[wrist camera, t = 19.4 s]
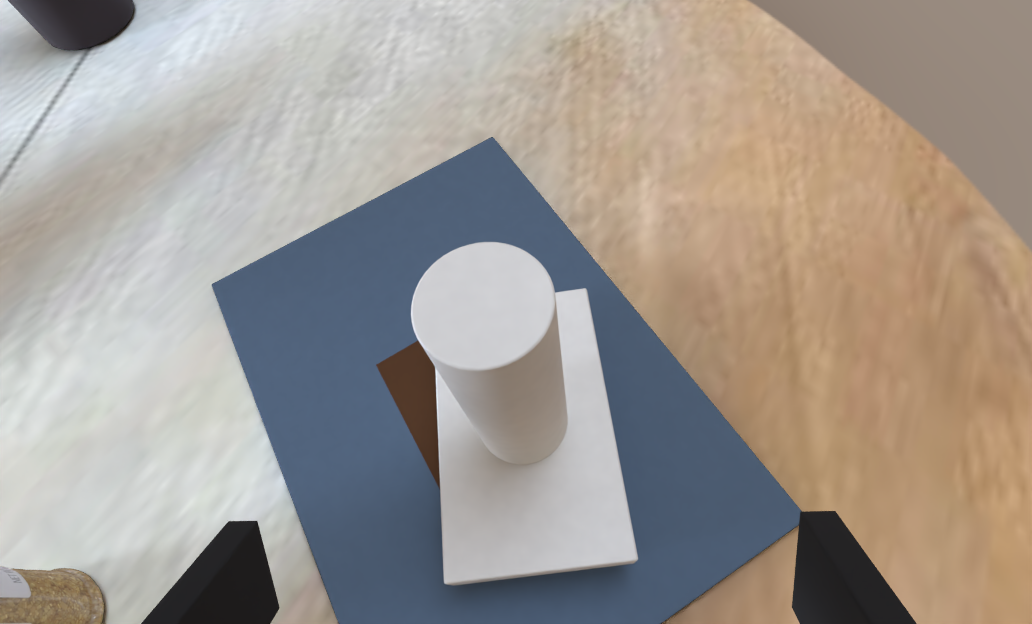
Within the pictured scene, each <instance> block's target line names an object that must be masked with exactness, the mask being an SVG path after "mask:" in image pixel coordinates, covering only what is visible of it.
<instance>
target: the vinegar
mask: <svg viewBox="0 0 1032 624" xmlns="http://www.w3.org/2000/svg"><path fill="white" fill-rule="evenodd" d="M8 1H9V2H10V3H11V4H12V5H13V6H14V7H15V8H16V9H17V10H18V11H19V12H20V13H21V15H22V16H23V17H24V18H25V19H26V20H27V21H28V22H29V23H30V24H31V25H32V26H33V27H34V28H35V29H36V30H37V31H38V32H39V33H40V34H41V35H42V36H43V38H44V39H45V40H46V41H47V42H48V43H49V44H51V45H52V46H54V47H57V48H60V49H63V50H80V49H84V48H89V47H92V46H95V45H97V44H100V43H102V42H105V41H106V40H108V39H109V38H111V37H113V36H114V35H116V34H117V33H118V32H119V31H120V30H122V29H123V28H124V27H125V26H126V25H127V23H128V22H129V20H130V19H131V17H132V13H133V9H134V4H133V1H132V0H8Z"/></svg>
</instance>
